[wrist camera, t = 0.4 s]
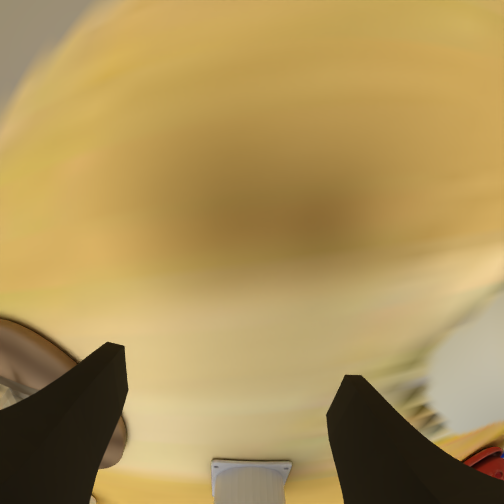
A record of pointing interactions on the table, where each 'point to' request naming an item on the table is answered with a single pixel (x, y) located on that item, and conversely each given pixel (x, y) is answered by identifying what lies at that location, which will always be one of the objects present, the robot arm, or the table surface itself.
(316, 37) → the table surface
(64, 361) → the turntable
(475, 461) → the plant pot
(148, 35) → the table surface
